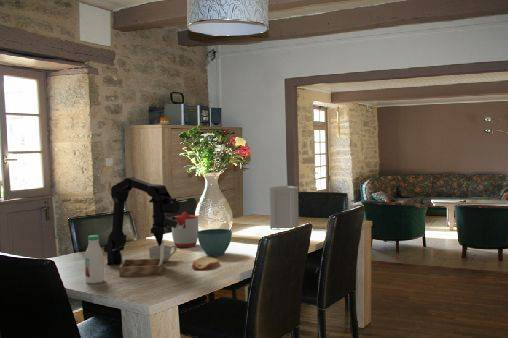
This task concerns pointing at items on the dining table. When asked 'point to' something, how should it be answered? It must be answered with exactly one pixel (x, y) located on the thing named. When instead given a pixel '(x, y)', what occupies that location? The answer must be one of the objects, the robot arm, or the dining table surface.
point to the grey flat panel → (161, 251)
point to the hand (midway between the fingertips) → (160, 245)
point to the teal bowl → (214, 241)
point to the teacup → (155, 252)
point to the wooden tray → (140, 267)
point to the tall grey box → (284, 207)
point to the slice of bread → (205, 263)
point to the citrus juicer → (185, 230)
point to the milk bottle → (94, 261)
